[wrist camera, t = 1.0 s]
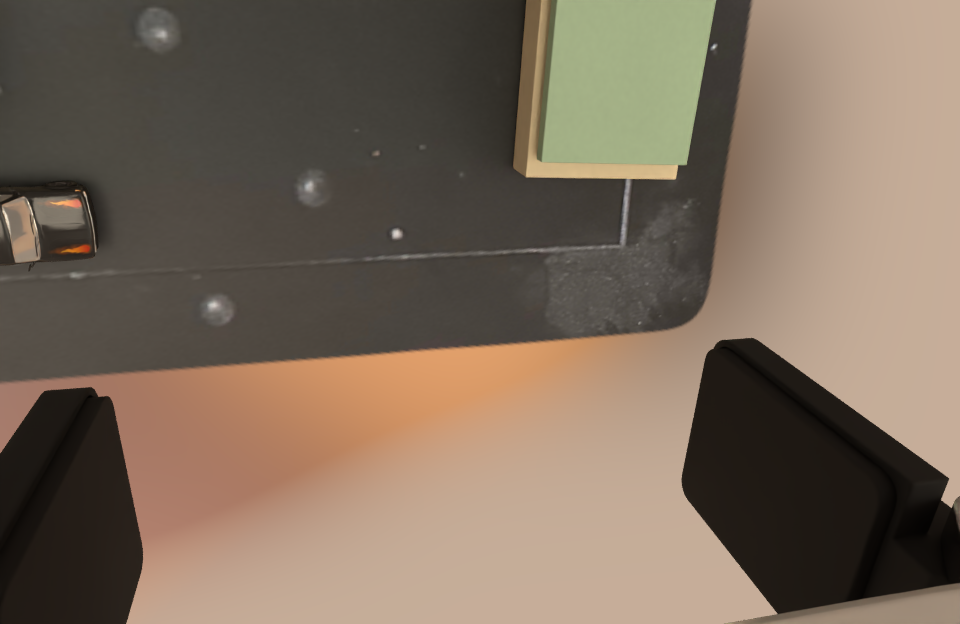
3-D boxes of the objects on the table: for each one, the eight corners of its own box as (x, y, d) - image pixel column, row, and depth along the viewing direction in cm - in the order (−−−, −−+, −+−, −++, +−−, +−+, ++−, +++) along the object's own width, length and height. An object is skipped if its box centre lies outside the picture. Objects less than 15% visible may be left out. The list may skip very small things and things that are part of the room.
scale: (537, -141, 30) (558, -156, 28) (702, -119, 32) (736, -131, 30) (512, 168, 36) (528, 179, 33) (655, 170, 38) (680, 181, 35)
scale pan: (562, -127, 28) (569, -131, 28) (725, -106, 30) (736, -109, 29) (536, 159, 33) (541, 162, 32) (678, 162, 35) (686, 165, 34)
